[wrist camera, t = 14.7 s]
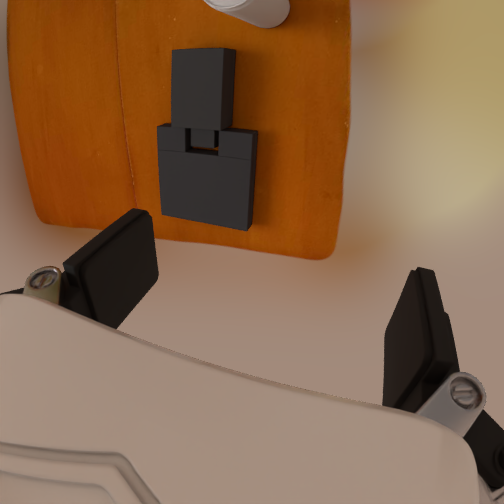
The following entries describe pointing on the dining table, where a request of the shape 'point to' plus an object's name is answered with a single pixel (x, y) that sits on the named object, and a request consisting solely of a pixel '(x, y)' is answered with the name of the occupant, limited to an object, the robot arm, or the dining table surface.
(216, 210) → the base pad
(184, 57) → the pad
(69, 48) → the dining table surface
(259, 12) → the beverage can
